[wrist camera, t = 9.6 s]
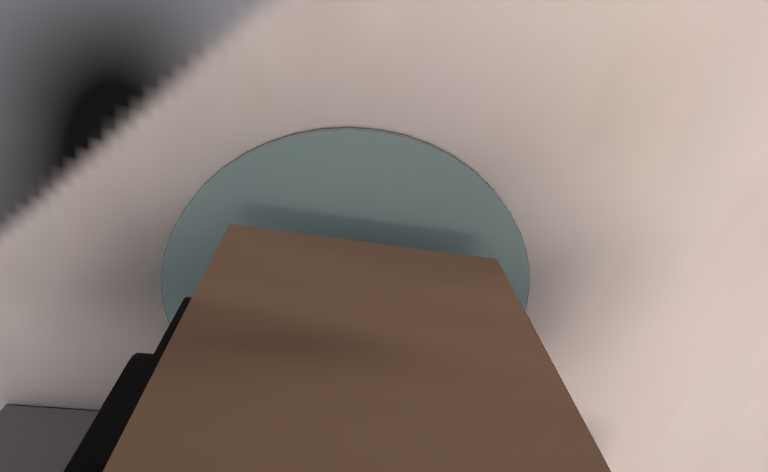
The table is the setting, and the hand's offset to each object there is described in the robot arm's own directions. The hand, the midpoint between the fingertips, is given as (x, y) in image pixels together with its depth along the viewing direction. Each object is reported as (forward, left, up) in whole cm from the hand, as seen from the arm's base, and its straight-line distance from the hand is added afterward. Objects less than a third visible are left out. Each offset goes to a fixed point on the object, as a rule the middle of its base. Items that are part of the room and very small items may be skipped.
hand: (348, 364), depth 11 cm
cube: (0, 0, -1) cm, 1 cm away
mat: (0, 0, -2) cm, 2 cm away
